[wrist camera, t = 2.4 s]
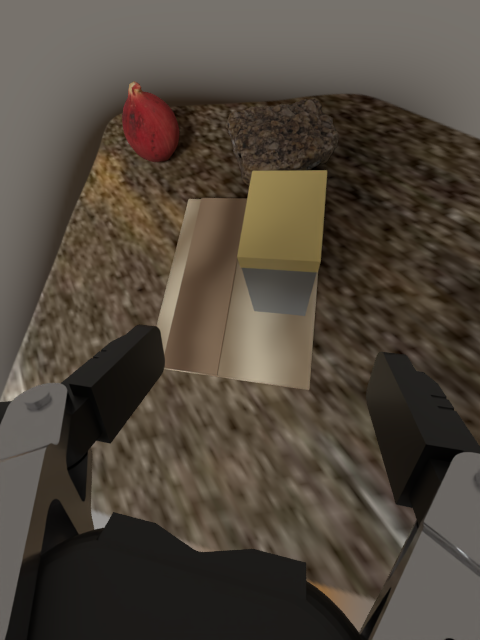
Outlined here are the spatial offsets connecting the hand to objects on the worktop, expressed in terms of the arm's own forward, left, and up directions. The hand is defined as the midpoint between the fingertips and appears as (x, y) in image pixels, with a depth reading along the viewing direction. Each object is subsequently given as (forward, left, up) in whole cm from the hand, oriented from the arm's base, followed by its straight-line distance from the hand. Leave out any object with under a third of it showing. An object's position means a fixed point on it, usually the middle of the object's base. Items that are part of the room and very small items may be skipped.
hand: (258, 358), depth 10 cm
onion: (+16, -25, -13) cm, 33 cm away
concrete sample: (+1, -25, -14) cm, 28 cm away
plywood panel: (+4, -9, -13) cm, 16 cm away
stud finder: (0, -9, -12) cm, 15 cm away
